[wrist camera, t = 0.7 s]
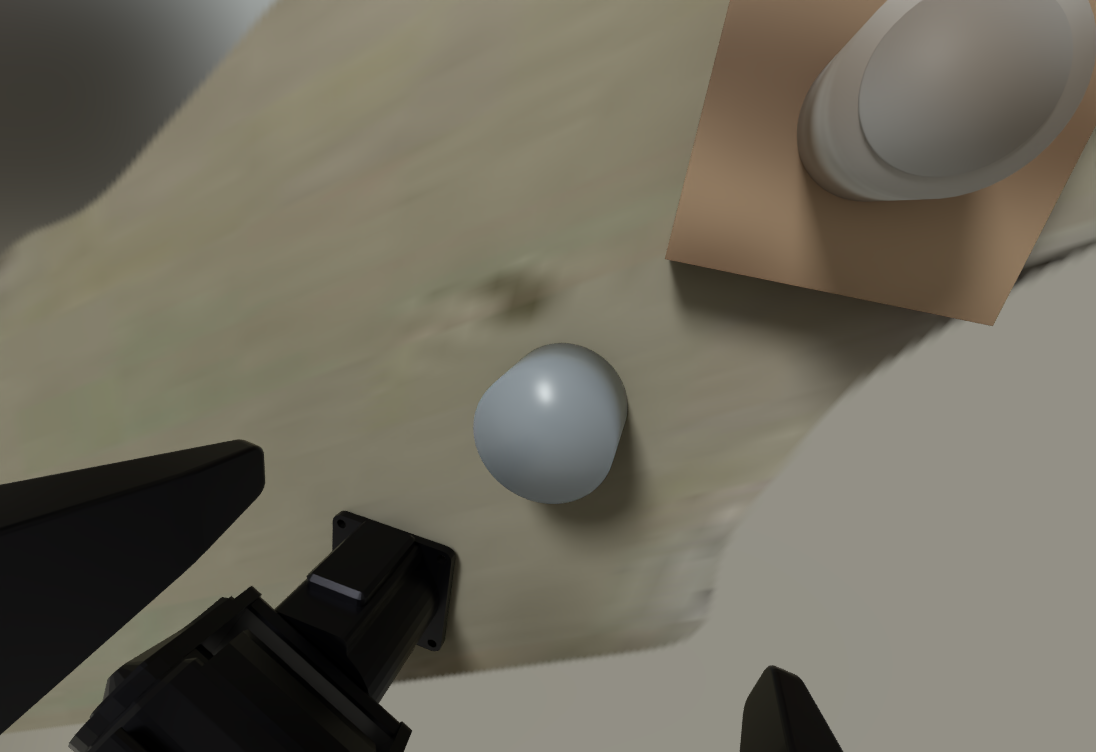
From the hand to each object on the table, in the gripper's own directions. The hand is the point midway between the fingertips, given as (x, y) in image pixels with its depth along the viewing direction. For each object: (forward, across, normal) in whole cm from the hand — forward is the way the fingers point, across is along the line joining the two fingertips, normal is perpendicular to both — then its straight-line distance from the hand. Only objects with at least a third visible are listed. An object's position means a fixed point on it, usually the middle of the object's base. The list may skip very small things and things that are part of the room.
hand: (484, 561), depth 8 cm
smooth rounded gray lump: (+12, +1, +3) cm, 12 cm away
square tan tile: (+13, -5, -8) cm, 16 cm away
